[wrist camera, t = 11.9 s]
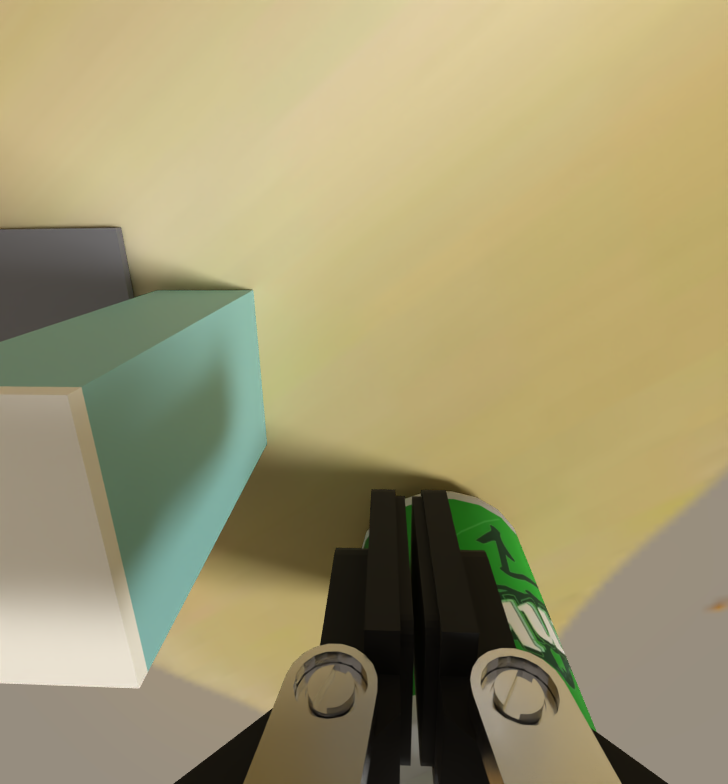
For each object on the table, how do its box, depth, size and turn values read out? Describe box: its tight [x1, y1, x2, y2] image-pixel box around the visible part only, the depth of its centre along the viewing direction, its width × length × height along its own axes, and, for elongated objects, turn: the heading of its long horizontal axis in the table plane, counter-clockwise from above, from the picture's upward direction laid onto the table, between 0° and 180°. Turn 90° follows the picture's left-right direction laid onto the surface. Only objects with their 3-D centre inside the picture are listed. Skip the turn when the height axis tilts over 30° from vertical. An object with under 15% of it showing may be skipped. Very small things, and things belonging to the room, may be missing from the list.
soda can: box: [362, 491, 596, 784], centre depth 18 cm, size 8×8×12 cm
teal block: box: [0, 290, 267, 688], centre depth 15 cm, size 7×4×12 cm, turn 1°
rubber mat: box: [0, 228, 134, 342], centre depth 21 cm, size 12×12×1 cm
